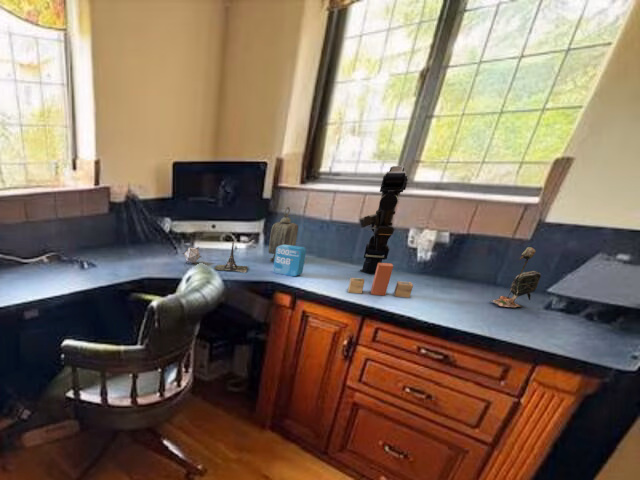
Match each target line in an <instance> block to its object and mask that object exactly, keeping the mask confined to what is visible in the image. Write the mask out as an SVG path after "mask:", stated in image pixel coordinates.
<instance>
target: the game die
mask: <svg viewBox="0 0 640 480" xmlns="http://www.w3.org/2000/svg"><path fill="white" fill-rule="evenodd" d="M199 248H200V247H199V246H198V247H191V246H188V249H187V250H186V251H185V252H183V253H182V255H183V256H184V258H185V261H186V262H185V264H187V263H190V264H194V265H197V264H196V263H197V262H198V260H199V259H200V258H202V256H201V255H200V251H199Z"/></svg>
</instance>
